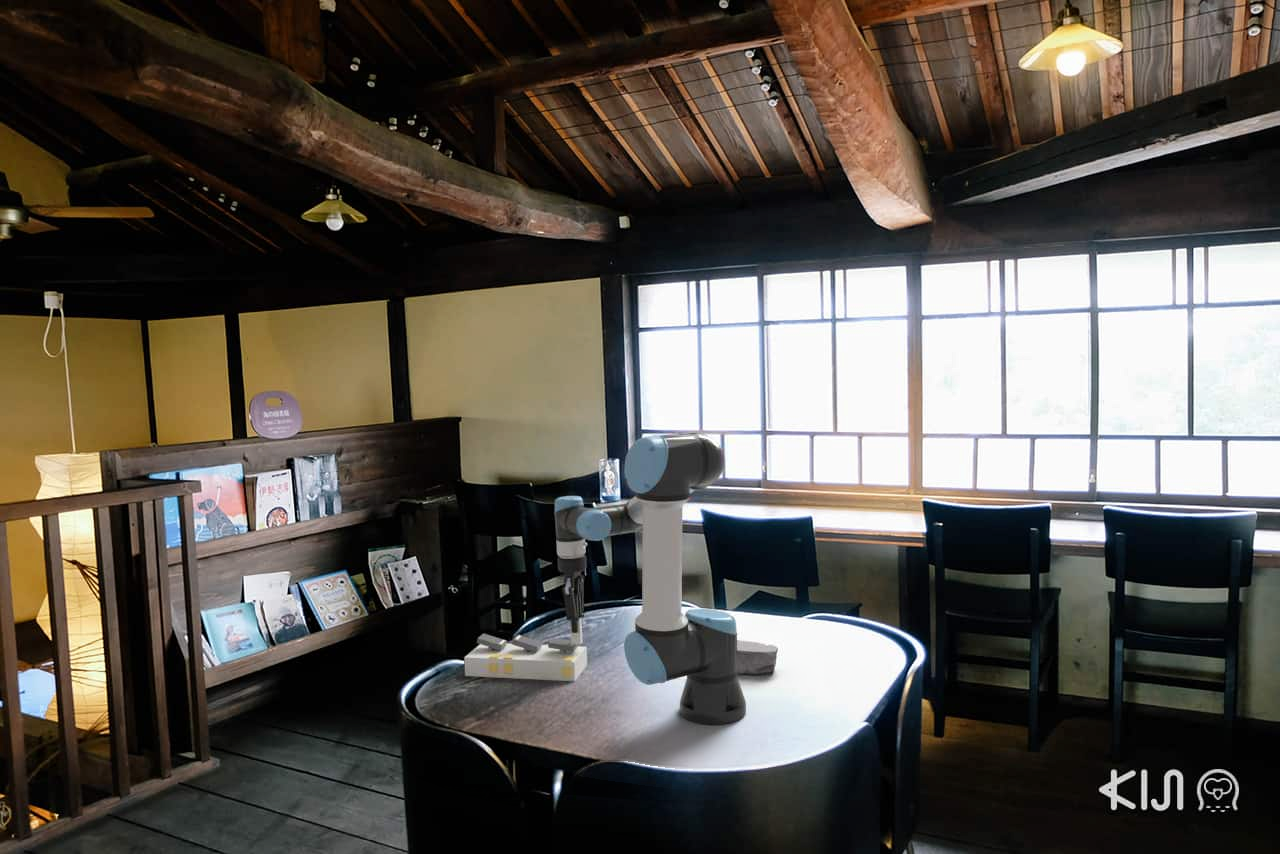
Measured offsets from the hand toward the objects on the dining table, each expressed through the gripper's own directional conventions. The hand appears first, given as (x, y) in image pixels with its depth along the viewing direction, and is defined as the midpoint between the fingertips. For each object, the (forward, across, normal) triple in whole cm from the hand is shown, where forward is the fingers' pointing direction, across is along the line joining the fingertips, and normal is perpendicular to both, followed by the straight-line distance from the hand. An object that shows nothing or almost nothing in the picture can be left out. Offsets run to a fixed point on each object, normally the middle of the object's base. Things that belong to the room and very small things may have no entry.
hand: (576, 643), depth 215 cm
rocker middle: (0, 0, +14) cm, 14 cm away
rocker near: (0, 0, +4) cm, 4 cm away
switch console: (+7, -1, +14) cm, 16 cm away
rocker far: (0, 0, +24) cm, 24 cm away
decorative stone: (+9, +6, -45) cm, 46 cm away
